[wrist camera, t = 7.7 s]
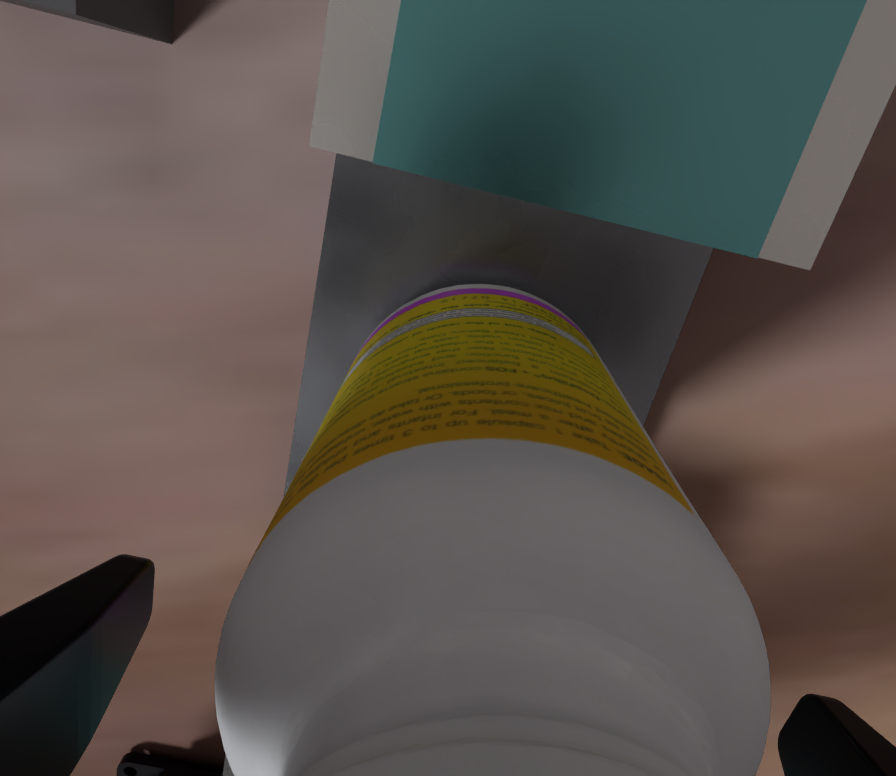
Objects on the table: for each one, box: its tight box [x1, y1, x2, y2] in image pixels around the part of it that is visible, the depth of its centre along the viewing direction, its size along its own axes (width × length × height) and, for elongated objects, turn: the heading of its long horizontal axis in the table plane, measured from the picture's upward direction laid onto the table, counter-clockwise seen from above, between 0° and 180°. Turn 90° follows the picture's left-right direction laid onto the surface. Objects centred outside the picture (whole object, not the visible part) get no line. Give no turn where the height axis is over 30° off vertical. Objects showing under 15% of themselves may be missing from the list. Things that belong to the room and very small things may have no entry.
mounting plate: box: [223, 0, 896, 776], centre depth 14 cm, size 20×9×7 cm, turn 167°
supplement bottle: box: [215, 284, 771, 776], centre depth 10 cm, size 7×7×13 cm
